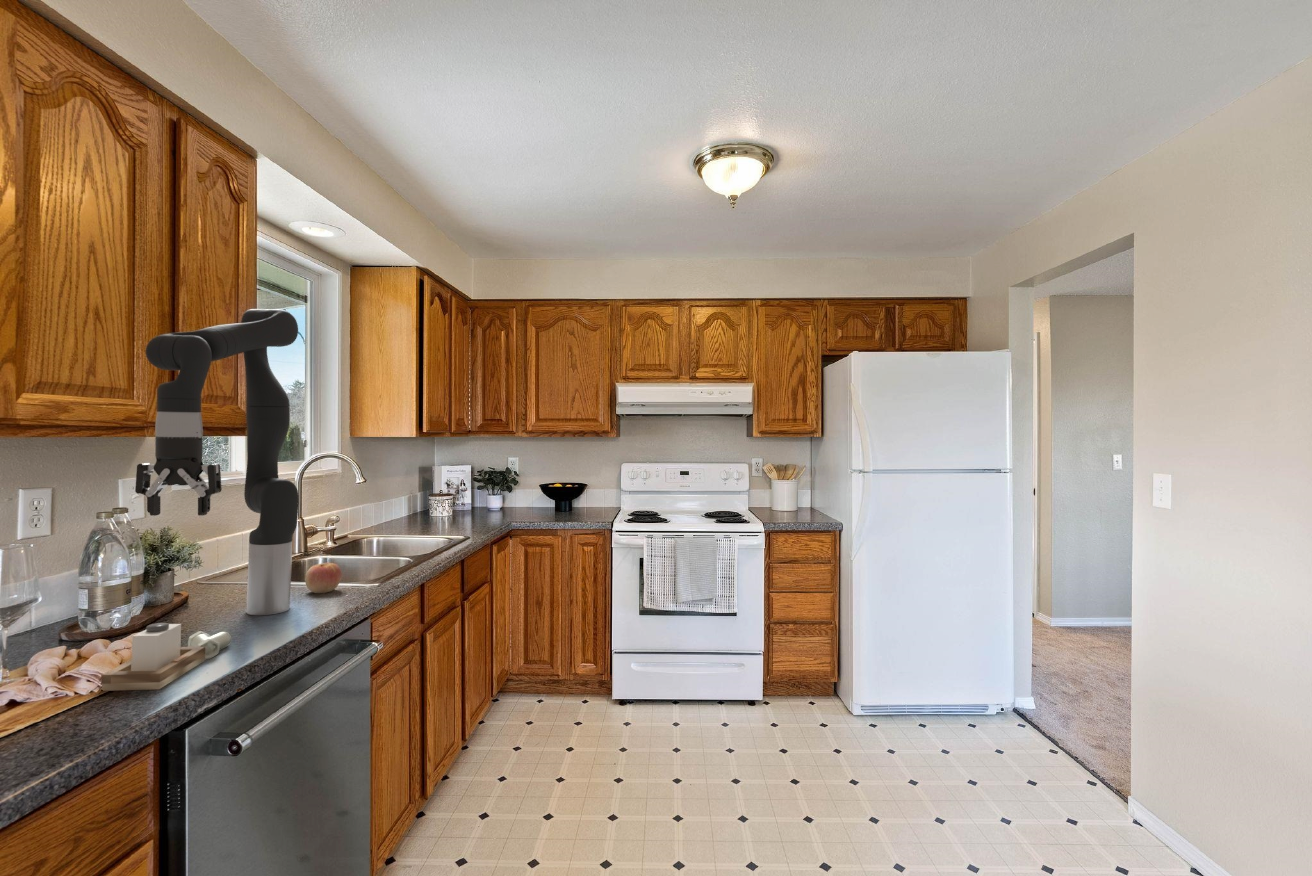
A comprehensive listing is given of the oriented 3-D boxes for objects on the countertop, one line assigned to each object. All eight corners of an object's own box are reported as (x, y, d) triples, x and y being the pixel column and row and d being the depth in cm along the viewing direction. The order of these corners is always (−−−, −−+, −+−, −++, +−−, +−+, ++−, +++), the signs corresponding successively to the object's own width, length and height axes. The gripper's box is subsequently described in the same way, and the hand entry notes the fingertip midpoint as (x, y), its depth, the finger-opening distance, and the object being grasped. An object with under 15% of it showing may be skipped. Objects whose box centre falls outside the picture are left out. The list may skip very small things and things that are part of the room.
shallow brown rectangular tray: (153, 661, 119) (154, 646, 119) (205, 660, 120) (205, 645, 120) (100, 690, 105) (101, 673, 105) (159, 689, 106) (160, 672, 106)
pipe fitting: (225, 646, 130) (186, 651, 125) (228, 627, 130) (189, 631, 125) (237, 655, 125) (197, 661, 120) (240, 636, 125) (200, 641, 120)
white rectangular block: (130, 675, 109) (132, 631, 109) (156, 661, 116) (157, 619, 116) (155, 674, 110) (157, 631, 110) (179, 660, 116) (181, 619, 116)
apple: (346, 590, 176) (347, 562, 176) (318, 597, 168) (319, 568, 168) (325, 586, 180) (326, 559, 180) (297, 593, 172) (298, 564, 172)
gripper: (126, 434, 119) (126, 518, 119) (208, 435, 121) (208, 517, 122) (150, 433, 126) (150, 512, 127) (228, 435, 129) (227, 512, 129)
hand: (179, 515), depth 124 cm, fingers open, 8 cm apart
